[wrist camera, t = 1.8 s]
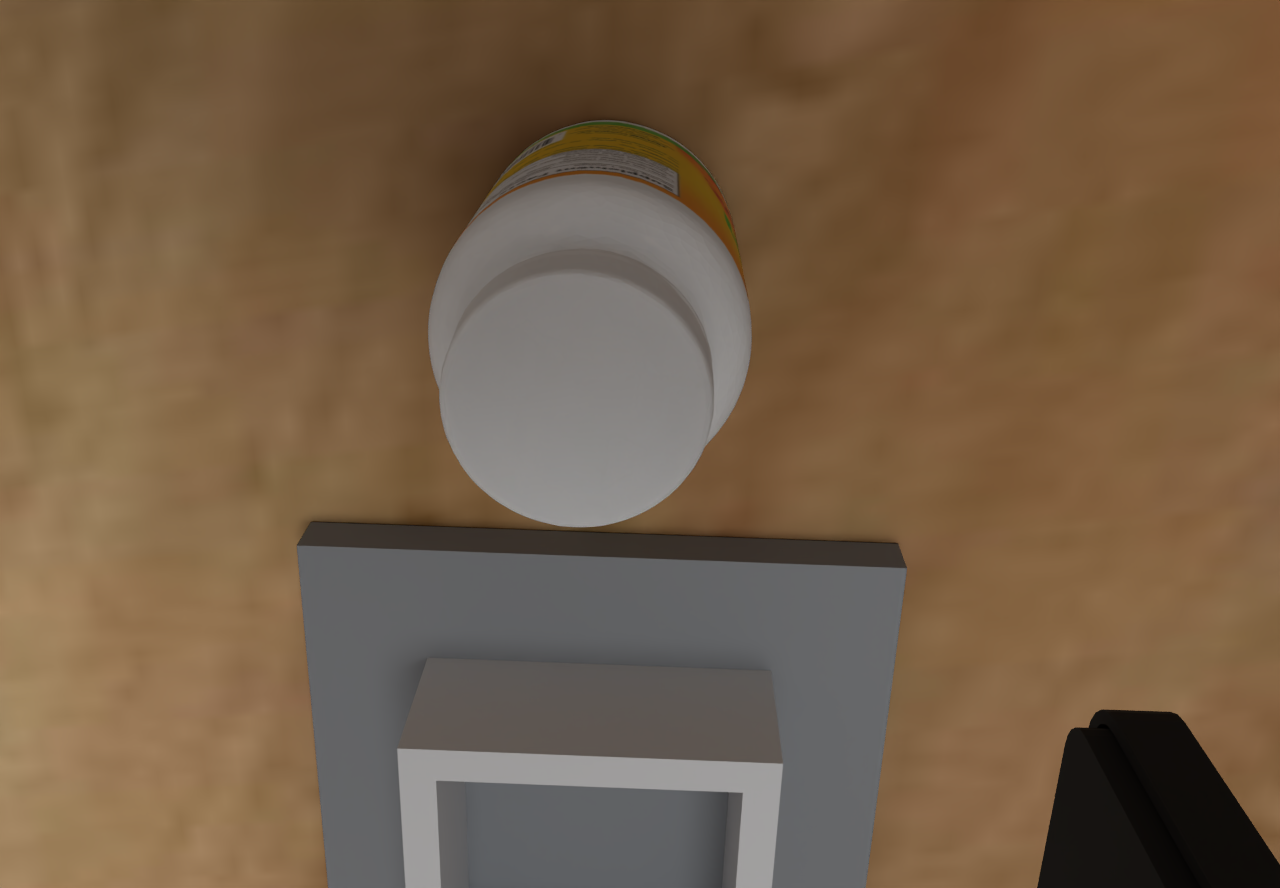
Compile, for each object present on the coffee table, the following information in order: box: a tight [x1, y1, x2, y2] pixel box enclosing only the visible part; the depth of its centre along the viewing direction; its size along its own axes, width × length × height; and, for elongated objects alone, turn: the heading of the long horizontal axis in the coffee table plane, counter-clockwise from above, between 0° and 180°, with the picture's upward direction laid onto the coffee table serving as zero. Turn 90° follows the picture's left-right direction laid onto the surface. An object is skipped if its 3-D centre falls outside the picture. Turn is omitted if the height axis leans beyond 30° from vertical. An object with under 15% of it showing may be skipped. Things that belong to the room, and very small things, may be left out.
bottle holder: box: [297, 522, 907, 888], centre depth 30 cm, size 14×14×5 cm
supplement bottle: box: [428, 120, 752, 527], centre depth 22 cm, size 5×5×10 cm
